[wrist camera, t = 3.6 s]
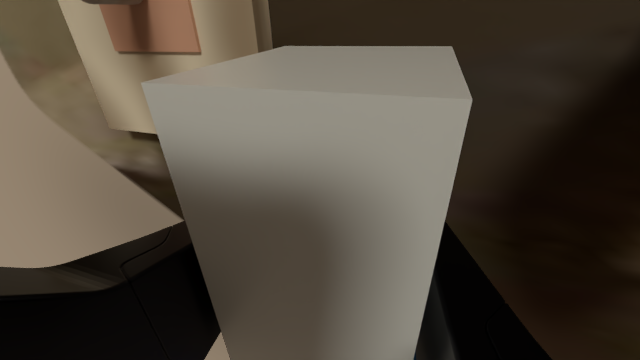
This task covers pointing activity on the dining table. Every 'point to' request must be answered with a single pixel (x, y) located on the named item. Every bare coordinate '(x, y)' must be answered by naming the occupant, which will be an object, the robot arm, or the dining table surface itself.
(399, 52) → the block
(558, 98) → the dining table surface
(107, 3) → the board
